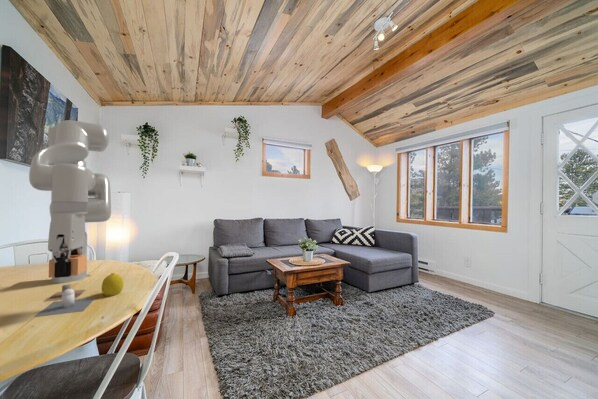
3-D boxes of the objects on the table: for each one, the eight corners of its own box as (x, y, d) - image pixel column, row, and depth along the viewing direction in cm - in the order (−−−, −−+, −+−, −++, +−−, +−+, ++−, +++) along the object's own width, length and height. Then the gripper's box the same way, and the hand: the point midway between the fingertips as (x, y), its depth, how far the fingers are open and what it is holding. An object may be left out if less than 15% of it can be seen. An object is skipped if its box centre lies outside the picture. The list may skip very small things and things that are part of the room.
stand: (56, 297, 79) (56, 282, 79) (86, 294, 82) (86, 280, 82) (43, 306, 72) (43, 291, 72) (76, 302, 75) (76, 288, 75)
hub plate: (53, 306, 72) (54, 285, 72) (96, 302, 76) (96, 281, 76) (33, 323, 63) (33, 298, 63) (83, 316, 67) (83, 293, 67)
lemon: (111, 302, 76) (112, 276, 76) (96, 300, 77) (97, 274, 77) (127, 295, 82) (127, 271, 82) (113, 294, 83) (113, 270, 83)
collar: (59, 271, 71) (60, 255, 71) (86, 269, 73) (86, 254, 73) (48, 277, 65) (49, 260, 65) (77, 275, 68) (78, 258, 68)
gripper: (67, 208, 76) (65, 267, 76) (33, 209, 60) (32, 284, 60) (97, 208, 79) (96, 265, 79) (73, 209, 63) (71, 280, 63)
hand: (68, 273), depth 69 cm, fingers closed on collar, 6 cm apart
